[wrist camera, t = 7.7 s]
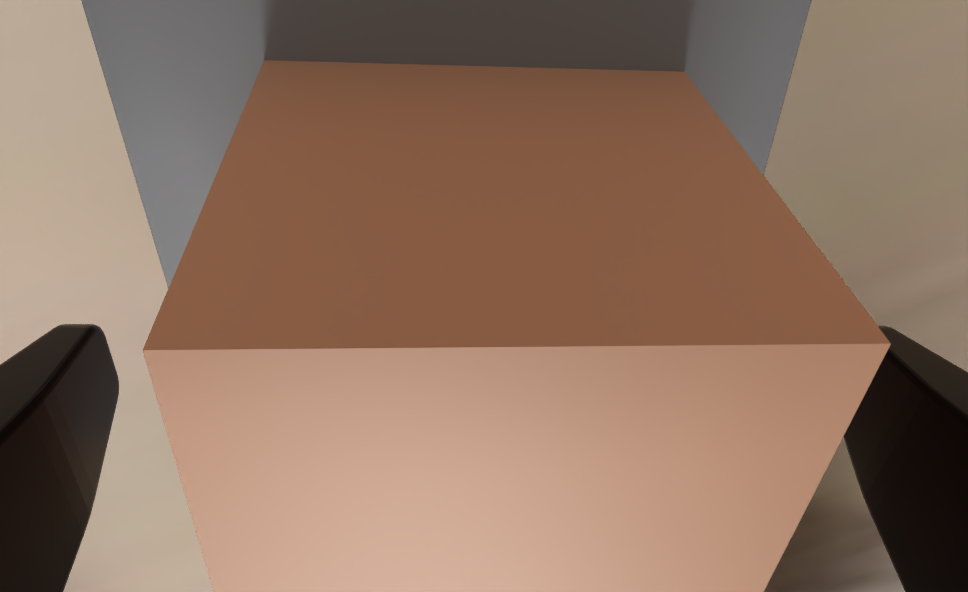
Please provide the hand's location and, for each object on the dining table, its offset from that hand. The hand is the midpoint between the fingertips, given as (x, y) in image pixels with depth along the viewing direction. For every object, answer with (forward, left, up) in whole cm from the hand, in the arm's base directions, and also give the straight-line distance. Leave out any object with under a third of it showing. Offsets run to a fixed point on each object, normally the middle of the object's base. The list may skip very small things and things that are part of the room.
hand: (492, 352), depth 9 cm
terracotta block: (0, 0, -3) cm, 3 cm away
